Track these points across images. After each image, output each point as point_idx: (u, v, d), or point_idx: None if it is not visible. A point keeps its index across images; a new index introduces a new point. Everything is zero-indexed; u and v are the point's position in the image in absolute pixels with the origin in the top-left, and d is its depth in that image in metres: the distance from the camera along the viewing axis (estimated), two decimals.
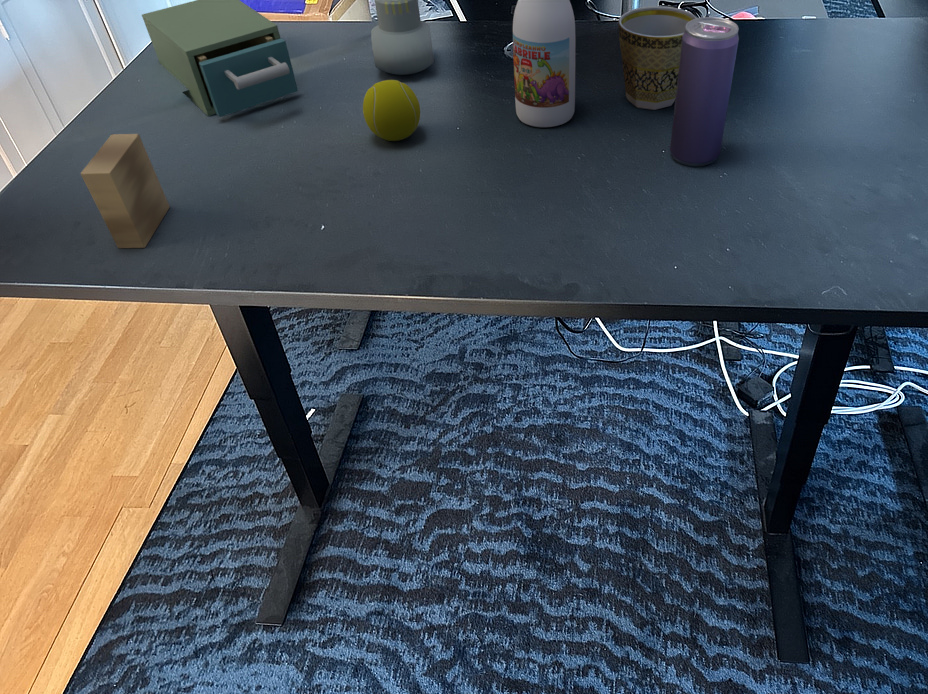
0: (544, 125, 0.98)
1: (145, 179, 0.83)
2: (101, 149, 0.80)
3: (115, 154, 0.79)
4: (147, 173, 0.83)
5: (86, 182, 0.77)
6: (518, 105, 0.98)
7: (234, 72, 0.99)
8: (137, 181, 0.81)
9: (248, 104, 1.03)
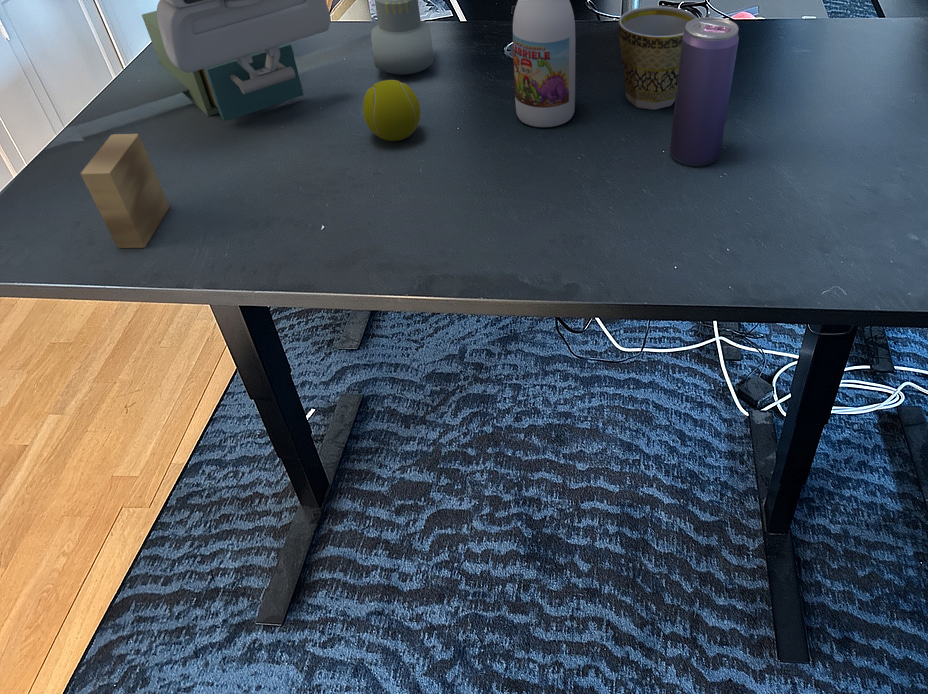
0: (544, 125, 0.98)
1: (145, 179, 0.83)
2: (101, 149, 0.80)
3: (115, 154, 0.79)
4: (147, 173, 0.83)
5: (86, 182, 0.77)
6: (518, 105, 0.98)
7: (239, 76, 0.98)
8: (137, 181, 0.81)
9: (253, 108, 1.02)
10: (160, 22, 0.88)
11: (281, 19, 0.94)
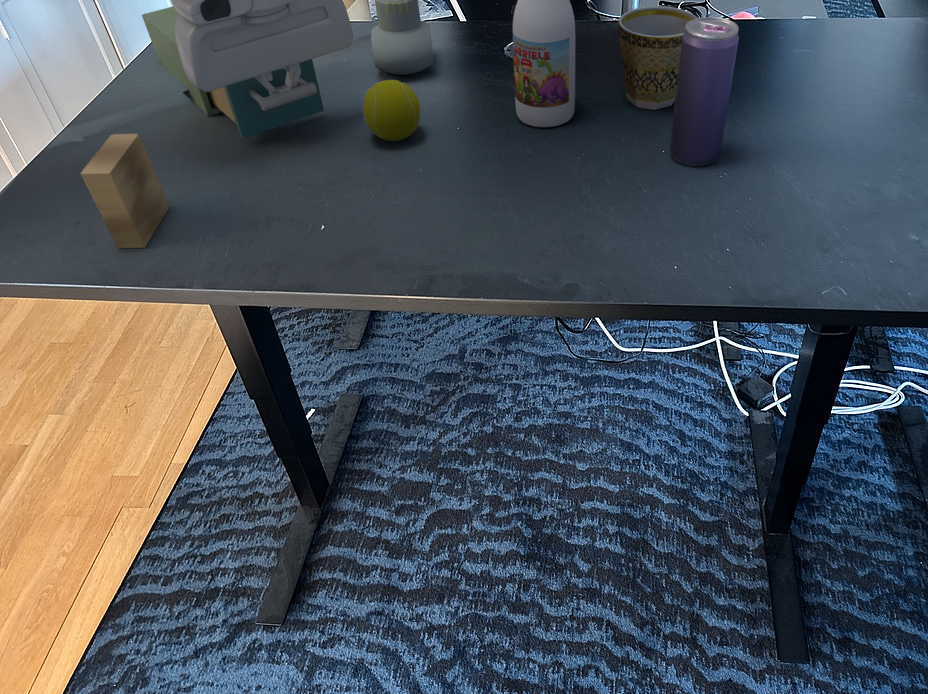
0: (544, 125, 0.98)
1: (145, 179, 0.83)
2: (101, 149, 0.80)
3: (115, 154, 0.79)
4: (147, 173, 0.83)
5: (86, 182, 0.77)
6: (518, 105, 0.98)
7: (259, 92, 0.95)
8: (137, 181, 0.81)
9: (273, 125, 0.99)
10: (178, 39, 0.85)
11: (303, 36, 0.90)
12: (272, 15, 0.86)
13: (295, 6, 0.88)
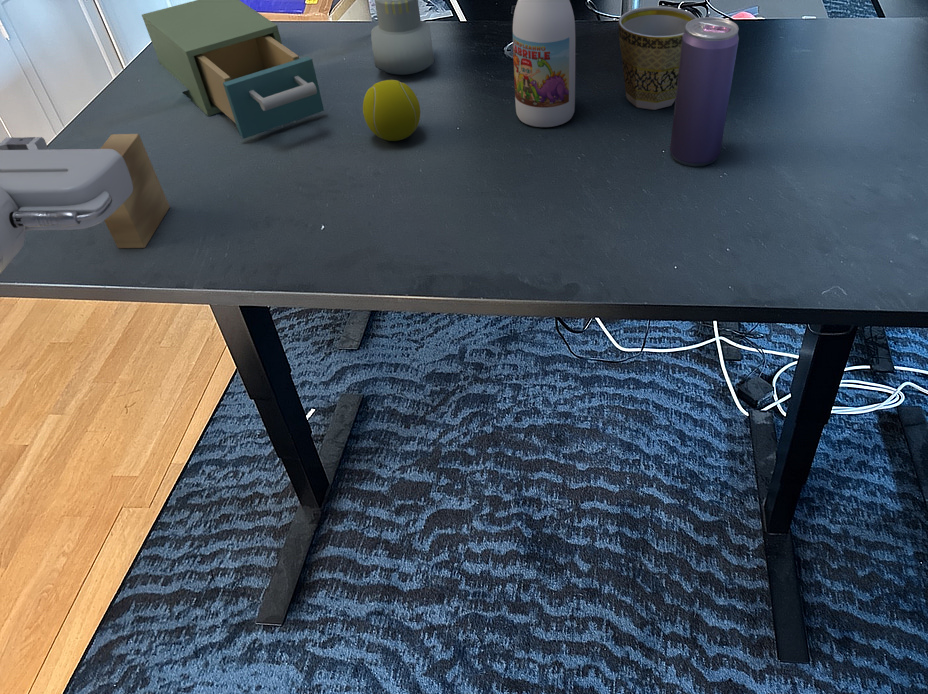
0: (544, 125, 0.98)
1: (145, 179, 0.83)
2: None
3: None
4: (147, 173, 0.83)
5: None
6: (518, 105, 0.98)
7: (259, 92, 0.95)
8: (137, 181, 0.81)
9: (273, 125, 0.99)
10: None
11: None
12: None
13: None
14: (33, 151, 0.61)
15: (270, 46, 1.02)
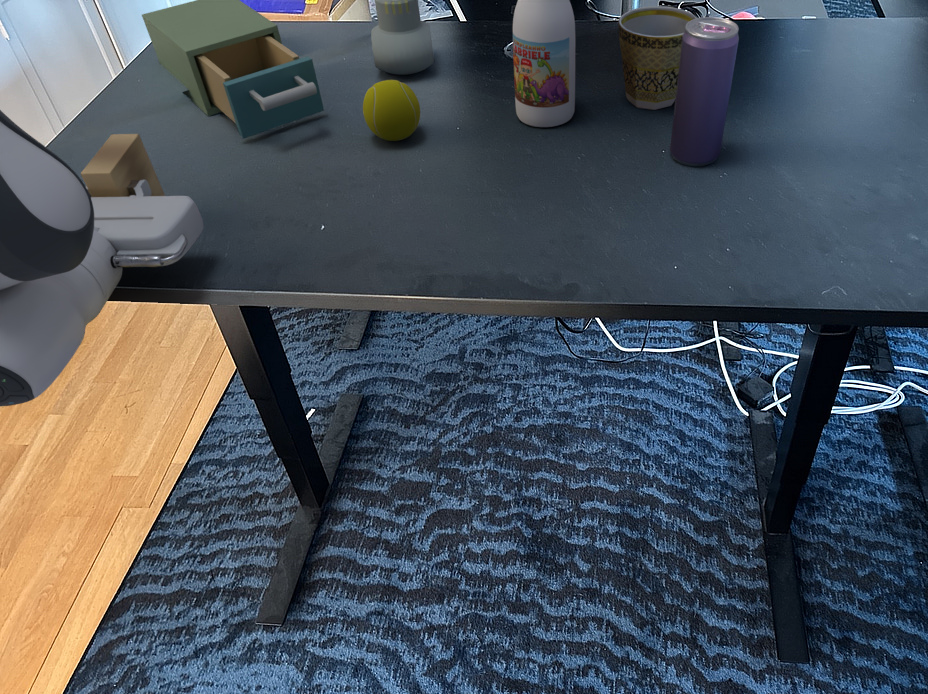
0: (544, 125, 0.98)
1: (145, 179, 0.83)
2: (101, 149, 0.80)
3: (115, 154, 0.79)
4: (147, 173, 0.83)
5: (86, 182, 0.77)
6: (518, 105, 0.98)
7: (259, 92, 0.95)
8: None
9: (273, 125, 0.99)
10: None
11: None
12: None
13: None
14: (125, 199, 0.76)
15: (270, 46, 1.02)
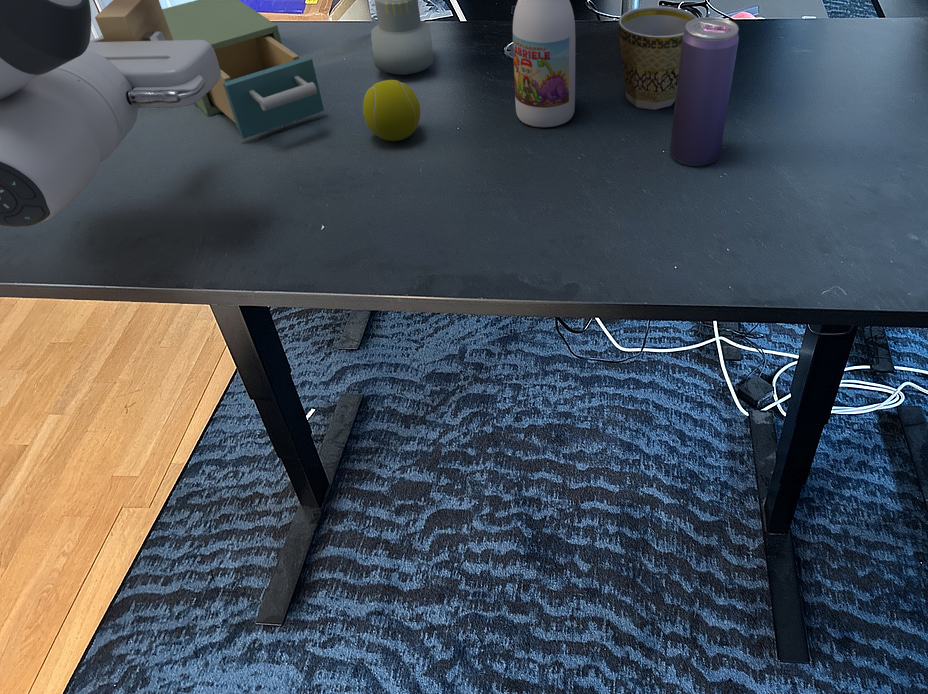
0: (544, 125, 0.98)
1: None
2: None
3: (130, 2, 0.77)
4: (162, 30, 0.81)
5: (101, 27, 0.75)
6: (518, 105, 0.98)
7: (259, 92, 0.95)
8: None
9: (273, 125, 0.99)
10: None
11: None
12: None
13: None
14: (141, 42, 0.74)
15: (270, 46, 1.02)
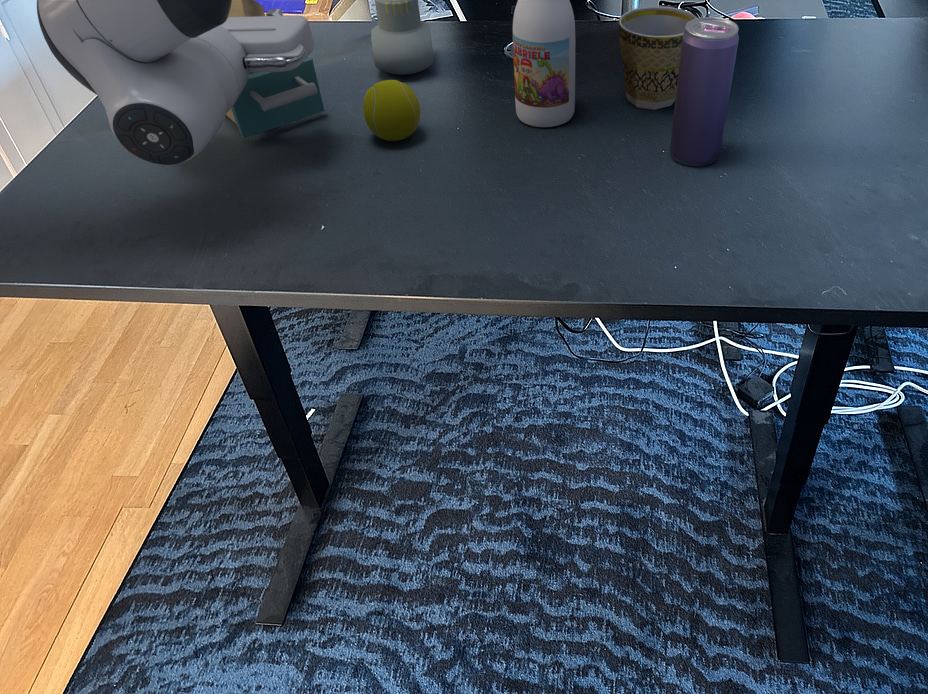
0: (544, 125, 0.98)
1: None
2: None
3: None
4: None
5: None
6: (518, 105, 0.98)
7: (259, 92, 0.95)
8: None
9: (273, 125, 0.98)
10: None
11: None
12: None
13: None
14: (248, 17, 0.88)
15: None
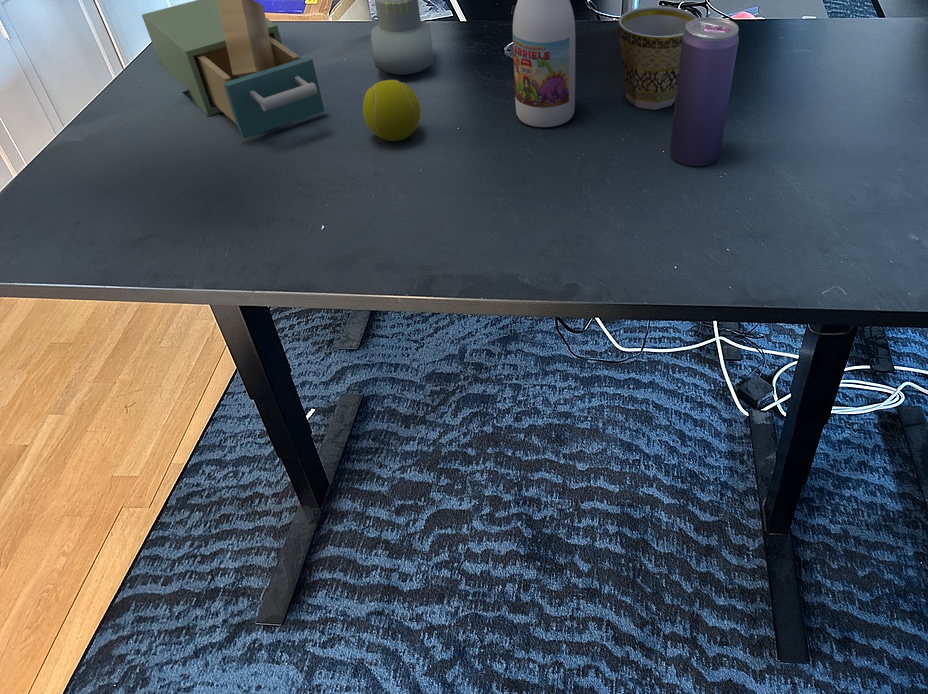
0: (544, 125, 0.98)
1: (263, 35, 0.98)
2: None
3: None
4: (265, 35, 0.99)
5: (219, 3, 0.92)
6: (518, 105, 0.98)
7: (259, 92, 0.95)
8: (258, 27, 0.97)
9: (273, 125, 0.98)
10: None
11: None
12: None
13: None
14: None
15: None
